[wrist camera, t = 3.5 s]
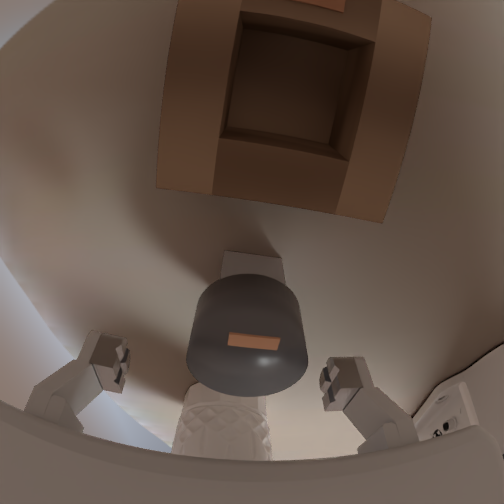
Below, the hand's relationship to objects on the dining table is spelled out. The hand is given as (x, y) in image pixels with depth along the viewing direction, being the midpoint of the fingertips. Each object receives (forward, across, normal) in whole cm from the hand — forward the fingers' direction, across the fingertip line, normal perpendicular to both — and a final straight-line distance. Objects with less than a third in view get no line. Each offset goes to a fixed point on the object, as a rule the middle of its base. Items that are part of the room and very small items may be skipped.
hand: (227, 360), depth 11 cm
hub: (+6, -1, -10) cm, 11 cm away
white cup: (+6, -1, +13) cm, 15 cm away
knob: (+6, -1, 0) cm, 6 cm away
